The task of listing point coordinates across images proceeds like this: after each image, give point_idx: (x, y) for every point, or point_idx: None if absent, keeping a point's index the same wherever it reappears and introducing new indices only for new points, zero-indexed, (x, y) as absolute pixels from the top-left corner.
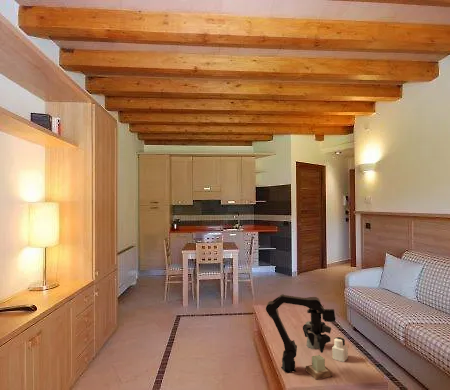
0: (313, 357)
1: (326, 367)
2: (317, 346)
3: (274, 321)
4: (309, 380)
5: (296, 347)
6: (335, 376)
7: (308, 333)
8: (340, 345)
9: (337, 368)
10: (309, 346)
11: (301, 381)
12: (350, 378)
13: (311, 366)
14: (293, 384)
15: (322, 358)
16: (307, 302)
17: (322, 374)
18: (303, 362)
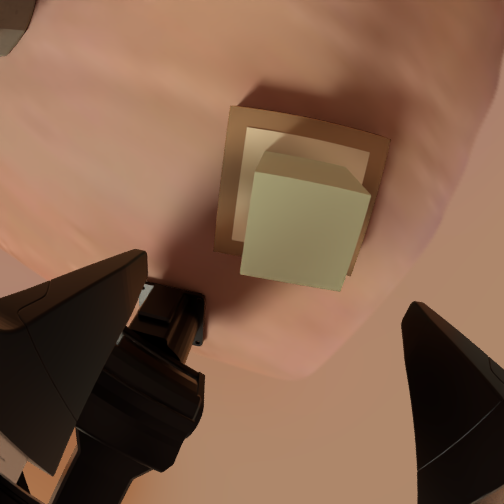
0: (273, 279)
1: (316, 120)
2: (24, 5)
3: None
4: (329, 295)
5: (135, 396)
6: (392, 114)
7: (41, 468)
8: None
9: (308, 10)
10: (4, 49)
11: (310, 332)
12: (453, 59)
13: (241, 223)
14: (307, 369)
15: (349, 210)
16: None
17: (365, 219)
18: (120, 180)
